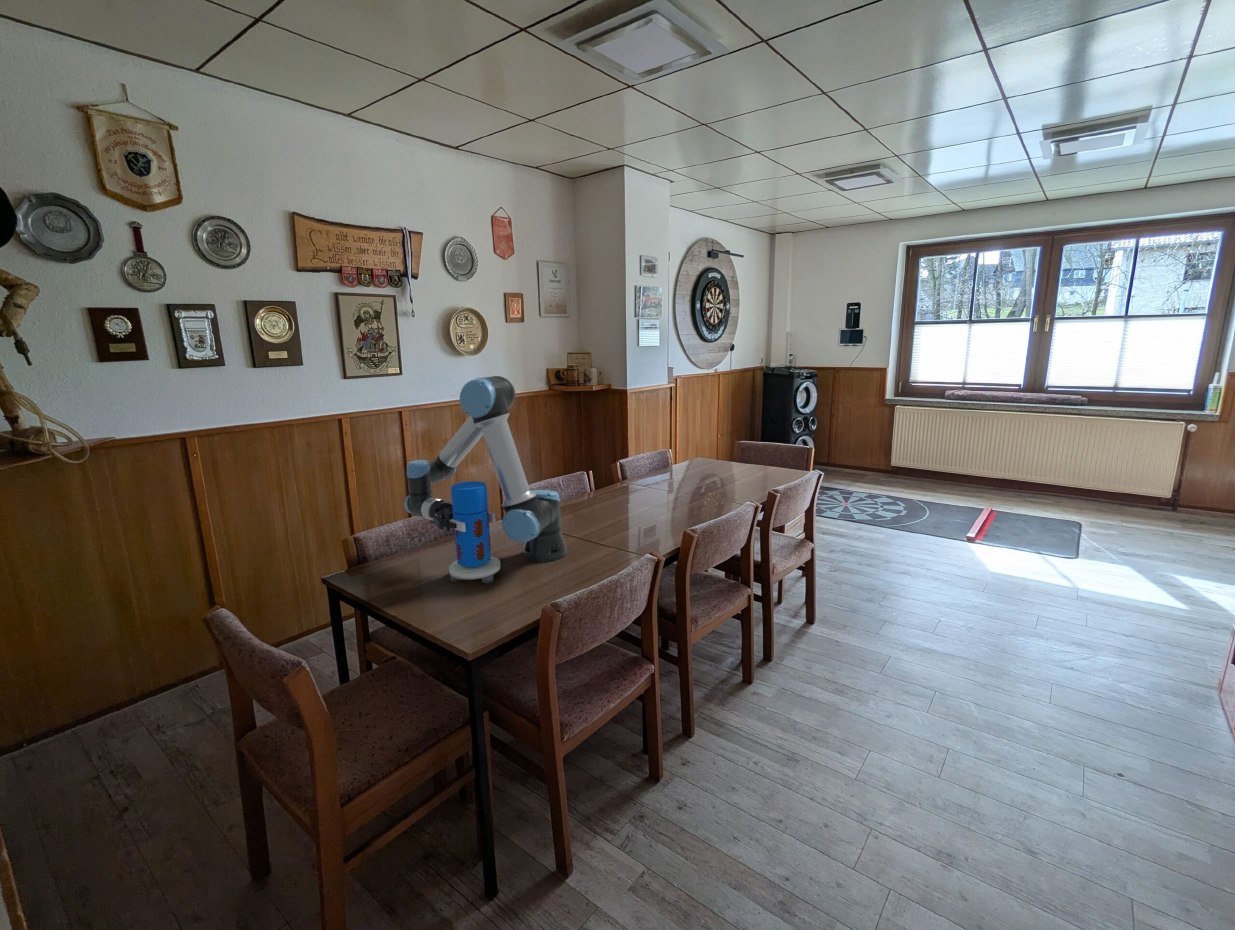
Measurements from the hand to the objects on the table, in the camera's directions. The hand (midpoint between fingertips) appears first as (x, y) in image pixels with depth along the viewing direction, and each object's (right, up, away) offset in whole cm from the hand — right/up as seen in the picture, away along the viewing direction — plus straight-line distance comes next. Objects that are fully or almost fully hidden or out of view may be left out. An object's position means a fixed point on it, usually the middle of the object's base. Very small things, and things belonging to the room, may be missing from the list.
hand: (479, 522), depth 178 cm
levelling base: (-3, -18, +6) cm, 19 cm away
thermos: (-3, -13, +5) cm, 14 cm away
